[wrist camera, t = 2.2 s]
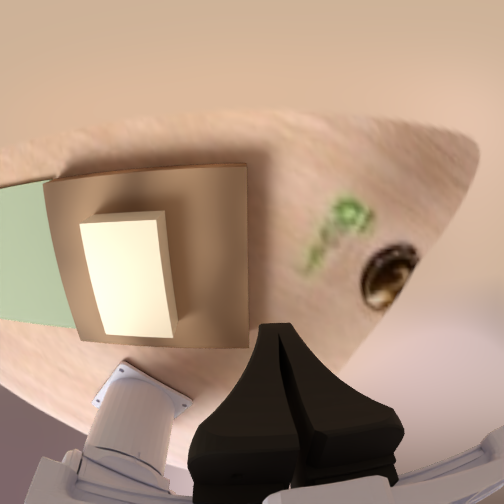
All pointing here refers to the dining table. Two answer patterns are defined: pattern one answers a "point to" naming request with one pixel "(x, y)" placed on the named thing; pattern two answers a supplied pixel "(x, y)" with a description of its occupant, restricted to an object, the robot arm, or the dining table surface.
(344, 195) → the dining table surface
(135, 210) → the board
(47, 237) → the mat
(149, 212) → the tile
